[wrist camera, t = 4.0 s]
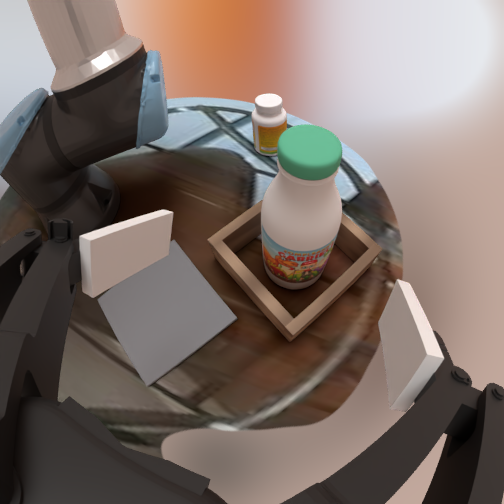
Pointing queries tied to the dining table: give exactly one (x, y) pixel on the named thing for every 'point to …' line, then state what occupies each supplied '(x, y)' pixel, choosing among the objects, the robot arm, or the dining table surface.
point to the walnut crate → (224, 251)
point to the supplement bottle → (268, 123)
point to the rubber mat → (164, 314)
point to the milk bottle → (301, 207)
